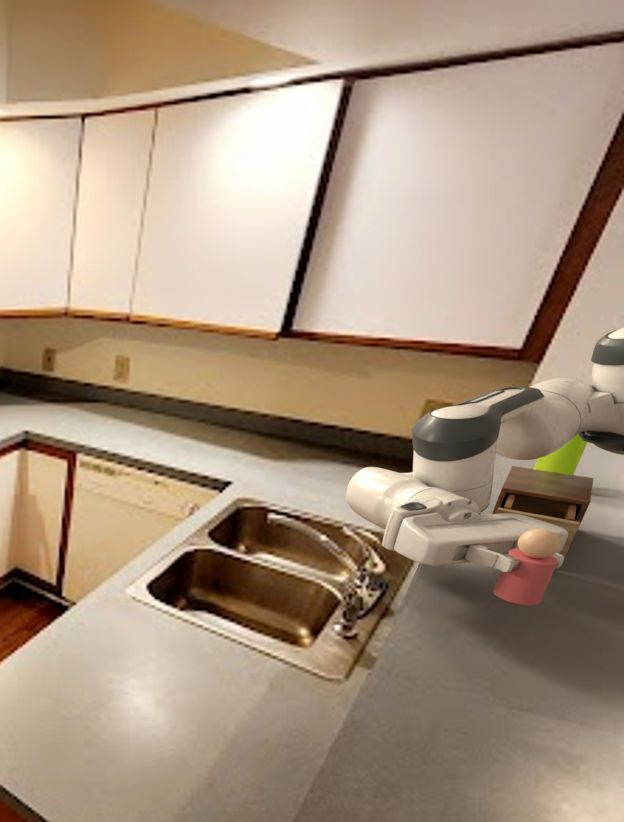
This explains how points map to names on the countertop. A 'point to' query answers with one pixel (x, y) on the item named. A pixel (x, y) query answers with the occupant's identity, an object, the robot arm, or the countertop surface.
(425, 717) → the countertop surface
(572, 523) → the drawer
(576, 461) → the soap dispenser
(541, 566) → the doll
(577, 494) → the cabinet
